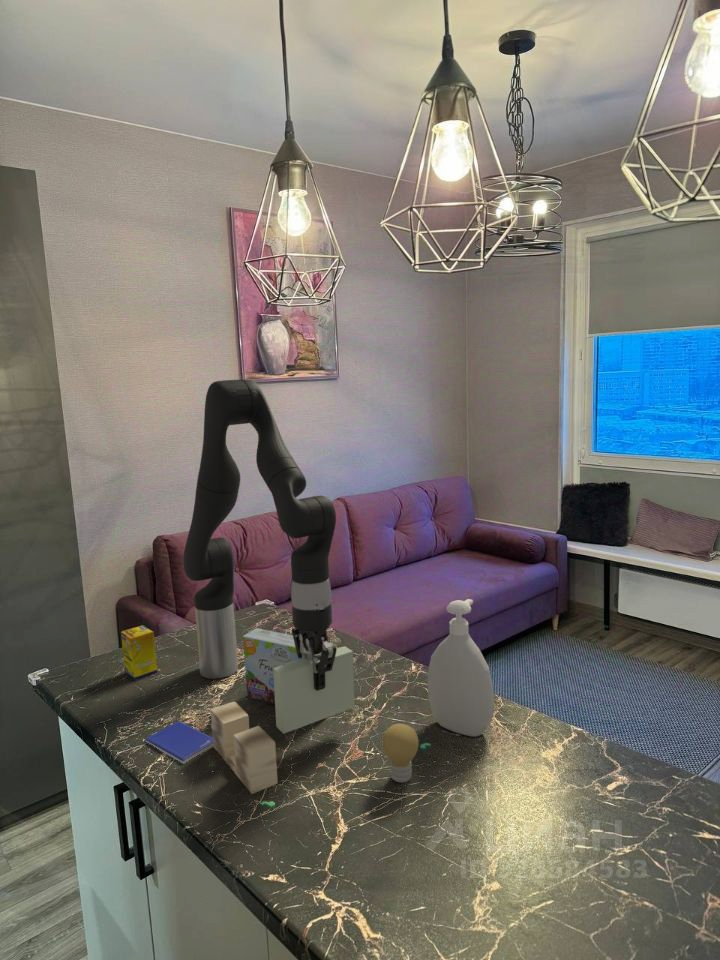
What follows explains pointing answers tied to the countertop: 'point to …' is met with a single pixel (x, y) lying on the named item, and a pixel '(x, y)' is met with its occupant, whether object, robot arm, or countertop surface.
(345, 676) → the sage plate
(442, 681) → the soap bottle
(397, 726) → the light bulb
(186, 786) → the countertop surface
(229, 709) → the slotted block
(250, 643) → the snack box
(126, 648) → the supplement box
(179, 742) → the hard drive
